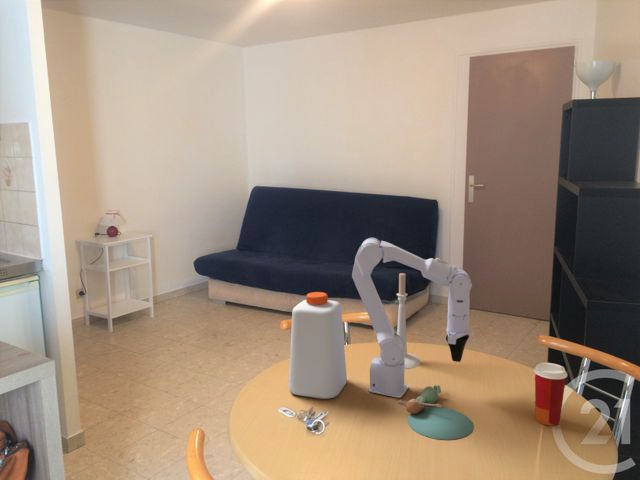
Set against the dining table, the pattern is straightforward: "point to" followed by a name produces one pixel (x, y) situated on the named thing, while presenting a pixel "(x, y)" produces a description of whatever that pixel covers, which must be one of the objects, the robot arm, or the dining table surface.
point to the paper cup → (549, 392)
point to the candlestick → (404, 325)
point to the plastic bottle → (317, 348)
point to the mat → (440, 423)
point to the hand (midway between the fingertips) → (456, 360)
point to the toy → (423, 400)
